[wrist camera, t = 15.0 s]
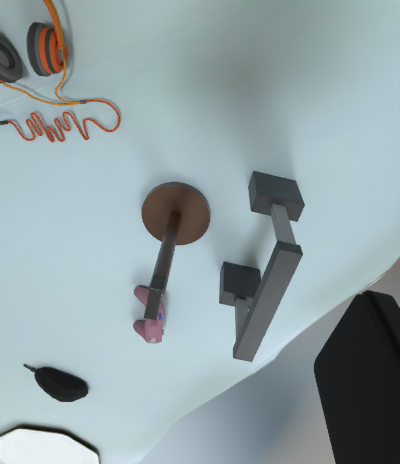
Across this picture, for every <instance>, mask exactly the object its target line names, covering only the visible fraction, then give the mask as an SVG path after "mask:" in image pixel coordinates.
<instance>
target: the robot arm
mask: <svg viewBox="0 0 400 464" xmlns="http://www.w3.org/2000/svg"><path fill="white" fill-rule="evenodd" d="M314 373H315V378H316V382H317V387H318V391H319V395H320V399H321V404H322V408H323V412H324V416H325V420H326V425H327V429H328V433H329V437H330V442H331V446H332V450H333V454H334V458H335V462H336V464H400V308H399V306H398V305H397V303H396V301H395V299H394V298H393V297H392V296H391V295H388V294H384V293H379V292H374V291H370V290H367V291H365V292H363V293H362V294H358V295H356V296H355V298H354V299H353V301H352V302H351V304H350V305H349V307H348V309H347V310H346V312H345V314H344V315H343V317H342V318H341V320H340V321H339V323H338V324H337V326H336V328H335V329H334V331H333V332H332V334H331V336H330V337H329V339H328V340H327V342H326V343H325V345H324V347H323V348H322V350H321V352H320V353H319V355H318V356H317V358H316V360H315V363H314Z"/></svg>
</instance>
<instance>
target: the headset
mask: <svg viewBox="0 0 400 464" xmlns="http://www.w3.org/2000/svg"><path fill="white" fill-rule="evenodd" d="M248 189H249V198H250V206H251V211H252V212H257V213H261V214H266V215H270V216H272V221H273V225H274V230H275V235H276V240H277V243H276V246H275V248H274V250H273V253H272V255H271V258H270V260H269V262H268V265H267V267H266V270H265V272H264V275H263V277H262V279H261V276H260V270H259V269H254V268H250V267H245V266H241V265H236V264H232V263H227V262H224V263H223V266H222V269H221V272H220V294H219V303H220V304H225V305H230V306H234V307H235V321H236V342H235V345H234V347H233V358H234V359H239V360H244V361H249V362H252V360H253V358H254V356H255V354H256V352H257V350H258V348H259V346H260V344H261V342H262V339H263V337H264V335H265V333H266V331H267V329H268V327H269V325H270V323H271V321H272V318H273V316H274V314H275V312H276V310H277V308H278V306H279V304H280V302H281V299H282V297H283V295H284V293H285V291H286V289H287V287H288V285H289V283H290V281H291V278H292V276H293V274H294V272H295V270H296V268H297V266H298V264H299V262H300V259H301V257H302V255H303V253H302V250H301V247H300V245H296V242H295V238H294V235H293V232H292V228H291V225H290V221H289V220H292V221H296V222H297V221H298V219H299V217H300V215H301V212H302V210H303V208H304V206H305V204H304V201H303V199H302V196H301V194H300V191H299V189H298V186H297V184H296V181H293V180H289V179H285V178H281V177H276V176H272V175H268V174H264V173H259V172H255V171H253V174H252V177H251V180H250V183H249V186H248ZM248 309H249V311H248Z"/></svg>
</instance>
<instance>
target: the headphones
mask: <svg viewBox="0 0 400 464" xmlns="http://www.w3.org/2000/svg"><path fill="white" fill-rule="evenodd" d="M43 1H44V3H45V4H46V6H47V8H48V10H49V12H50V15H51V18H52V20H53V24H54V27H55V29H52V28H48V27H47V26H46V25H45V24H43V23H37V22H35V23H32V25H31V26H30V28H29V30H28V33H27V53H28V58H29V61H30V64H31V66H32V68H33V69H34V71H35V72H36V74H38V75H39V76H46V77H48V76H50V75H51V74H56V73H59V72H61V71H62V69H63V67H64V76H63V78H62V81H61V82H60V83H59V85H58V86H57V87H56V88H55V94H56V96H57V97H58V98H59V99H60V100H62V101H64V102H68V103H62V104H61V103H52V102H48V101H44V100H41V99H38V98H36V97H33V96H32V95H30V94H29V93H27V92H25V91H24V90H22V89H18V88H15V87H12V86H9V85H7V84H6V83H5V82H7V83H14V82H15V81H17V80H19V79H20V78H21V77H22V72H23V71H22V65H21V62H20V60H19V58H18V56H17V54H16V52H15V51H14V49H13V48H12V47H11V46H10V45H9V44H8V43H7V42H6V41H5V40H4V39H2V38H1V37H0V83H2V84H4V85H5V86H7V87H9V88H12V89H15V90H19V91H22V92H24V93H25V94H27V95H28V96H30V97H31V98H33V99H36V100H38V101H41V102H45V103H48V104H53V105H76V104H86V103H87V102H103V103H106V104H108V105H110V106H111V107H112V108H113V109H114V110H115V111H116V113H117V115H118V124H117V126H116V127H115V128H114V129H113V130H106V129H104V128H103V127H102V126H100V125H99V124H98V123H97V122H95V121H94V120H92V119H89V118H86V119H84V120H83V127H84V131H85V134H86V137H87V138H85V137H84V135H83V134H82V132H81V130H80V128H79V126H78V125H77V123H76V121H75V119H74V118H73V116H72V115H71V114H70V113H69V112H63V114H62V115H63V119H64V121H65V123H66V125H67V126H68V129H69V130H67V129H66V128H65V127H64V126H63V125H62V123H61V122H60V120H59V119H57V118H55V119H54V122H55V125H56V126H57V128H58V130H59V132H60V134H61V136H62V138H63V140H60V139H59V138H58V136H57V134H56V132H55V131H54V130H53V129H52V128H51V127H50V126H47V131H48V133H49V135H50V136H51V138H52V140H53V141H52V140H51V139H50V137H49V135H48V133H47V131H46V129H45V127H44V125H43V123H42V121H41V120H40V118H39V116H38V115H37V114H36V113H31V117H32V119H33V121H34V123H35V124H36V126H37V128H38V130H39V132H40V134H39V132H38V131H37V129H36V127H35V126H34V124H33V123H32V121H31V120H29V119H27V120H26V124H27V125H28V127H29V129H30V130H31V132H32V134H33V138H32V139H26V138H25V137H24V136H23V135H22V134H21V132H20V131H19V129H18V128H17V126H16V125H15V124H14V123H13V122H11V121H0V125H4V124H8V123H11V124H13V125H14V126H15V128H16V129H17V131H18V132H19V134H20V135H21V136H22V137H23V138H24V139H25V140H27V141H32V140H34V139H35V135H34V132H33V131H32V129H31V127H30V125H29V123H28V121H29V122H30V123H31V124H32V126H33V127H34V129H35V131H36V132H37V134H38V135H39V136H42V132H41V130H40V128H39V126H38V124H37V123H36V121H35V119H34V117H33V114H34V115H35V116H36V117H37V118H38V120H39V121H40V123H41V125H42V127H43V129H44V131H45V133H46V135H47V137H48V139H49V140H50V141H51V142H54V138H53V136H52V135H51V133H50V131H49V129H48V128H50V129H51V130H52V131H53V133H54V134H55V136H56V138H57V139H58V141H60V142H63V141H64V136H63V134H62V132H61V130H60V128H59V126H58V125H57V123H56V120H57V121H58V122H59V123H60V125H61V127H62V128H63V129H64V130H65V131H70V126H69V125H68V123H67V121H66V119H65V117H64V114H65V113H66V114H68V115H70V116H71V118H72V119H73V121H74V123H75V125H76V126H77V128H78V130H79V132H80V133H81V135H82V137H83V138H84V139H85V140H88V134H87V131H86V128H85V123H84V122H85V121H86V120H90V121H92V122H94V123H95V124H96V125H98V126H99V127H100V128H101V129H103V130H104V131H106V132H113V131H115V130H116V129H117V128H118V126H119V123H120V116H119V113H118V111H117V110H116V109H115V107H114V106H113V105H111V104H110V103H108V102H106V101H102V100H87V101H86V100H81V101H67V100H64V99H62V98H60V97H59V96H58V94H57V92H56V91H57V89H58V88H59V87H60V86H61V84H62V83H63V81H64V79H65V76H66V60H67V48H66V46H65V45H64V37H63V32H62V28H61V24H60V20H59V17H58V14H57V11H56V8H55V6H54V4H53V2H52V0H43Z"/></svg>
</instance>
